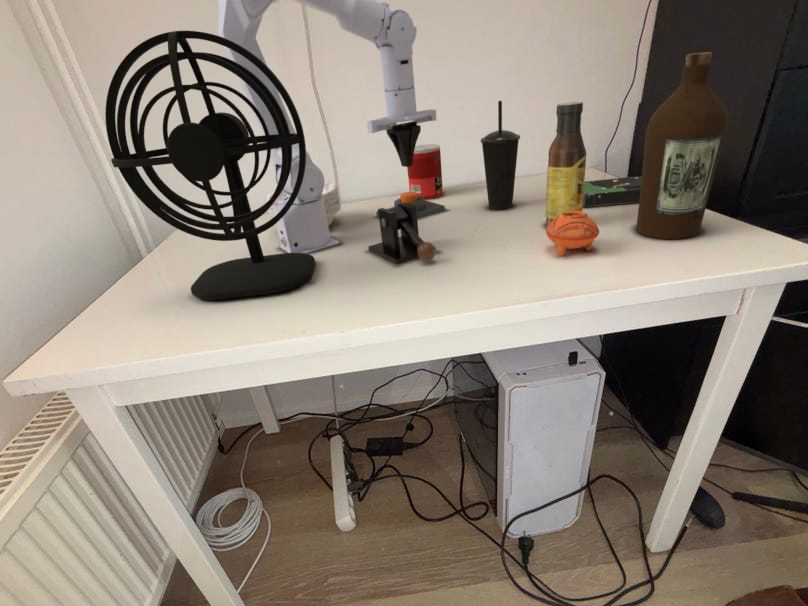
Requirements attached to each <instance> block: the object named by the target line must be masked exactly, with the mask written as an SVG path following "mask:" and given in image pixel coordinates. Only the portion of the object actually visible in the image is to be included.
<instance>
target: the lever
mask: <svg viewBox="0 0 808 606" xmlns="http://www.w3.org/2000/svg"><path fill="white" fill-rule="evenodd" d="M389 210H390V211H393V212H396V218H397V227H398V231H400V230H401V229H402V230H403V231H404V233H405V234H406V235H407V236H408V237H409V238H410V240H411V241H412V242H413V243H414V244H415V246H416V247H417V248H418V250H417V254H418V256H419V258H418V259H420V260H422V261H423V262H424V261H425V262H428V261H432V260H433V259H434V257H435V256H436V253H437V248H436V249H435V247H436V246H435V245H434V244H433V243H431V242H429V241H424V240H423V239H422V237H420V235H419V236H418V234H417V233H416V232H415V231H414V230H413V229H412V227H411V226H410V225H409V224H408V223H407V222H408V215H407V214H406V213H405V211H404V210H403V209H402V208H401V207H396V208H393V209H389Z"/></svg>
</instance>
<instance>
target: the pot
mask: <svg viewBox="0 0 808 606" xmlns="http://www.w3.org/2000/svg"><path fill="white" fill-rule="evenodd" d="M545 234H546V236H547V238H548V239H549V240H550V241H551V242H552V243H553V244H554V245H556V251H557V255H558V257H563V256H564V254H565V252H566V250H567V249H580V248H582V247H585V251H586V252H588V251H589V250H590V249H592V246H593V243H594V242H595V240H596V238H598V236H599V234H600V229H599V227H598V225H597V223H596V222H595V221H594V220H593V219H592V218H591V217H590V216H588V213H586V212H585V211H582V212H581V211H569V212H565V213H564V212H563V213H562V215H561V216H559V217H557V218H555V219H554V220H553V221H552V222H551V223H550V224H549V225H548V226H547V225H546V228H545Z"/></svg>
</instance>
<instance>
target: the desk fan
mask: <svg viewBox="0 0 808 606" xmlns="http://www.w3.org/2000/svg"><path fill="white" fill-rule="evenodd" d="M187 39H192V40H193V39H194V40H202V41H208V42H210V43H214V44H218V45H220V46H225V47H227V48H229V49H231V50H233V51H235V52H237V53H239V54H240V55H242V56H243V57H245V58H246V59H248V60H249V61H250V62H252V63H253V64H254V65H255V66H256V67H258V68H259V69H260V70H261V71H262V72H263V73H264V74H265V75H266V76H267V77H268V79H269V80H270V81H271V82H272V83H273V85H274V86H275V87H276V89H277V90H278V93H279V95H280V97H281V99H283V100H282V101H283V102H284V103H285V105H286V108H287V109H288V111H289V114H290V117H291V119H292V122H293V124H294V125H293V126H294V130H295V133H291V134H290V131H289V127H288V124H287V121H286V118H285V116H284V114H283V111H282V109H281V107H280V106H279V104H278V102H277V100H276V99H275V97H274V96H273V94H272V93H271V92H270V90H269V89H268V88H267V87H266V86H265V85H264V83H263V82H262V81H261V80H260V79H259V78H257V77H256V76H255V75H254V74H253V73H252V72H250V71H249V70H248V69H246V68H245V67H243V66H242V65H240V64H238V63H236V62H234V61H232V60H230V59H229V58H228V57H225V56H222V55H219V54H215V53H210V52H202V51H193V50H192V46H191V45H190V43H189V41H188V40H187ZM164 43H167V53H165V54H162V55H159V56H156V57H155V58H153V59H151V60H148V61H146V63H144V64H143V65H142V66H140V67H139V68H138V69H137V70H136V71H135V72H134V73H133V74H132V75H131V77H130V78H129V79H128V81H127V83H126V84H125V87H124V89H123V90H122V93H121V95H120V98H119V102H118V97H119V93H120V89H121V86H122V84H123V81H124V80H125V77H126V76H127V74H128V72H129V71H130V69H131V68H132V67H133V65H134V64H135V63H136V62H137V61H138V60H139V59H140V58H141V57H142V56H143V55H144V54H145V53H147V52H148V51H150V50H152V49H154V48H155V47H157V46H160V45H161V44H164ZM178 45H179V46H180V48H181V49H182V51H178ZM184 60H187V61H188V62H189V66H190V68H191V70H192V72H193V75H194V77H195V79H196V82H195V83H192V84H191V83H190V84H183V82H182V76H181V71H180V70H181V69H180V64H179V62H180V61H184ZM197 60H200V61H206V62H209V63H211V64H215V65H217V66H219V67H222V68H223V69H225V70H227V71H229V72H231V73H232V74H234V75H235V76H236V77H237V76H238V77H240V78H241V79H242V80H243V81H244V82H246V83H247V84H248V85H249V86H250V87H251V88H252V89H253V90H254V91H255V92H256V94H257V95H258V96H259V97H260V99H261V100H262V101H263V103H264V104H265V106H266V107H267V109H268V111H269V112H270V114H271V116H272V118H273V121H274V123H275V125H276V128H277V131H278V134H275V135H269V132H268V129H267V126H266V124H265V121H264V119H263V117H262V116H261V114H260V112H259V111H258V110H257V108H256V107H255V106H254V104H253V103H252V102H251V101H250V100H249V99H248V98H247V97H246V95H245V94H243V93H241V92H240V91H239V90H237V89H235V88H234V87H231V86H229V85H226V84H223V83H220V82H215V81H206V80H205V78H204V75H203V73H202V71H201V68H200V65H199V63H198V61H197ZM169 66H170V67H169ZM267 66H268V65H267ZM267 66H266V65H265V64H264V63H263V62H262V61H261V60H260V59H259V58H257V57H256V56H255V55H254V54H252V53H251V52H249V51H248V50H246V49H245V48H243V47H242V46H240V45H238V44H236V43H234V42H232V41H230V40H228V39H225V38H223V37H220V36H219V35H218V34H213V33H208V32H204V31H199V30H198V31H197V30H175V31H174V30H173V31H168V32H164V33H160V34H157V35H154V36H151V37H150V38H147V39H146V40H144V41H142V42H141V43H139V44H138V45H137V46H135V47H134V48H133V49H132V50H130V52H129V53H127V54H126V55H125V57H124V58H123V59H122V61H121V62H120V63H119V65H118V66H117V68H116V70H115V72H114V74H113V75H112V78H111V81H110V84H109V86H108V90H107V95H106V100H105V111H104V112H105V114H104V115H105V116H104V117H105V128H106V130H105V131H106V135H107V136H106V137H107V140H108V143H109V144H108V145H109V148H110V150H111V154H112V157H113V158H111V159H110V162H111V163H112V166H113V168H117V169H118V170H119V172H120V174H121V176H122V178H123V179H124V181H125V182H126V184H127V185H128V187H129V188H130V190H131V191H132V192H133V194H134V195H135V196H136V197H137V198H138V200H139V201H140V202H141V203H142V204H143V205H144V206H145V207H146V208H147V209H148V210H150V211H151V213H152V214H154V215H155V216H157V217H158V218H160V219H161V220H162V221H163V222H165V223H166V224H168V225H169V226H171V227H173V228H175V229H177V230H179V231H181V232H183V233H185V234H188V235H190V236H194V237H197V238H201V239H204V240H210V241H218V242H232V241H241V240H245V243H246V246H247V249H248V253H249V257H242V258H236V259H231V260H227V261H224V262H220V263H217V264H215V265H212V266H210V267H208V268H206V269H205V270H204V271H203V272H201V274H200V275H199V276H198V277H197V279H196V280H195V281H194V282H193V283H192V285H191V286H190V292H191V294H192V296H193V297H195V298H197V299H201V300H210V301H211V300H225V299H234V298H242V297H251V296H261V295H268V294H269V295H270V294H275V293H280V292H284V291H288V290H291V289H294V288H297V287H299V286H301V285H304V284H305V283H306V282H308V281H310V279H311V278H312V276H313V273H314V269H315V267H316V258H315V257H314V256H313V255H311V254H310V253H306V254H305V253H288V252H284V253H275V254H267V255H264V252H263V250H262V249H263V248H262V245H261V242H260V237H259V235H260V234H262V233H265V232H266V231H267V230H269V229H271V228H272V227H274V226H276V223H277V222H278V221H279V220H280V219H281V218H282V217H283V216H284V215H285V214H286V213H287V211H288V210H289V209H290V207H291V206H292V204H293V203H294V201H295V199H296V197H297V195H298V193H299V191H300V188H301V185H302V182H303V178H304V173H305V166H306V151H307V146H306V138H305V133H304V128H303V124H302V121H301V117H300V115H299V113H298V110H297V108H296V106H295V104H294V101H293V100H292V98H291V96H290V94H289V92H288V91H287V89H286V88H285V86H284V85H283V83H282V82H281V80H280V79H279V78H278V77H277V75H276V74H275V73H274V72H273V70H272V69H270V68H269V66H268V67H267ZM167 67H169V68H170V73H171V78H172V83H173V86H170V87H167V88H165V89H163V90H161V91H159V92H158V93H156V94H155V95H154V96H153V97H152V98H151V99H150V100H149V101H148V103H147V104H146V106H145V108H144V109H143V111H142V114H141V116H140V120H139V111H140V105H141V101H142V98H143V95H144V94H145V91H146V89H147V87H148V86H149V84H150V82H151V81H152V80H153V79H154V77H155V76H157V75H158V74H159V73H160V72H161V71H163V70H164V69H165V68H167ZM238 77H237V78H238ZM209 87H216V88H219V89H223V90H226V91H228V92H230V93H232V94H234V95H236V96H237V97H238V98H240V99H241V100H242V101H243V102H245V104H247V105H248V107H250V109H251V110H252V111H254V112H255V114H256V115H257V117H258V118H259V120H260V122H261V124H262V127H263V129H264V132H265V135H264V134H263V135H255V132H254V130H253V128H252V127H251V124H250V123H249V121H248V120H247V117H246V116H245V115H244V113H242V111H241V110H240V109H239V108H238V107H237V106H236V105H235V104H234V103H233V102H232V101H231V100H230V99H229V98H227V97H226V96H224V95H222V94H221V93H219V92H218V91H215V90H213V89H211V88H209ZM135 88H136V89H135ZM190 90H194V91H199V92H201V95H202V98H203V101H204V104H205V107H206V110H207V112H208V114H207V115H206V116H204V117H203V118H201V119H200V121H199V122H192V120H191V116H190V112H189V109H188V104H187V100H186V96H185V93H187V92H189V91H190ZM134 91H135V92H134ZM133 92H134V94H133ZM172 92H175V94H174V95H173V96H172V98H171V99H170V100H169V102H168V104H167V106H166V109H165V112H164V114H163V119H162V136H163V142H164V146H165V147H163V148H157V149H152V150H151V149H150V150H147V148H146V142H145V130H146V129H145V128H146V122H147V119H148V116H149V114H150V112H151V110H152V109H153V107H154V106H155V104H156V103H157V102H158V101H160V99H162V98H163V97H164V96H166V95H168V94H170V93H172ZM132 94H133V96H132ZM131 96H132V101H131V105H130V111H129V129H130V130H129V131H130V137H131V141H132V145H133V150H134V152H135V153H131V152H130V148H129V145H128V139H127V131H126V116H127V110H128V105H129V101H130V98H131ZM211 96H213V97H215V98H217V99H218V100H220V101H222V102H223V103H224V104H225V105H227V106H228V107H229V108H230V109H232V110H233V112H234V113H235V114H236V115H237V116H236V115H234V114H232V113H230V112H229V113H228V112H221V111H220V112H216V111H215V106H214V103H213V100H212V97H211ZM117 102H118V106H117ZM176 102H177V105H178V108H179V113H180V116H181V120H182V123H181V124H178V125H177V126H175V127H174V128H173V129H172V130H171V131H170V133H169V131H168V130H169V129H168V126H169V118H170V115H171V112H172V109H173V107H174V105H175V104H176ZM116 110H117V111H116ZM116 112H117V114H116ZM254 112H253V113H254ZM255 114H254V115H255ZM138 120H139V123H138ZM138 124H139V125H138ZM297 143H298V144H299V170H298V176H297V180H296V184H295V187H294V189H293V192H292V194H291V196H290V198H289V200H288V202H287V203H286V205H285V206H284V207H283V208H282V210H281V211H280V212H279V213H278V214H277V215H276V216H274V217H273V218H272V219H270V220H268V221H266V222H265V223H262V225H259V226H256V223H255V221H257V220H258V219H259V218H261V217H262V216H264V214H265V213H266V212H268V209H269V208H270V207H271V206H272V204H273V203H274V202H275V200H276V199H277V198H278V196H279V195H280V194H281V192H282V190H283V189H284V187H285V185H286V182H287V180H288V177H289V174H290V170H291V164H292V145H294V144H297ZM276 148H281V150H282V168H281V174H280V179H279V182H278V185H277V184H276V188H275V190H274V191H273V192H274V194H273V196H272V197H271V199H270V200H269V201H268V202H267V203H266V202H265V203H264V204H263V205H261V206H260V207H258V208H256V209H254V210H252V208H251V205H250V201H249V198H248V195H247V194H248V193H249V192H250V191H251V189H253V188H254V187H256V185H257V184H258V183H260V181H261V180H262V179H263V177H264V175H265V174H266V172H267V170H268V168H269V164H270V161H271V149H276ZM264 151H266V158H265V161H264V166H263V167H262V168H263V169H262V170H261V172H260V174H259V175H258V172H259V168H260V152H264ZM252 153H254V154H253V155H254V165H253V172H252V176H251V178H250V182H249V183H248V185H247V186H246V187H245V183H244V180H243V175H242V172H241V169H240V165H239V161H240V160H241V159H243V158H244V156H245V155H247V154H252ZM161 165H173V167H174V169H176V171H178V173H180V174H181V176H183V177H184V178H185V180H187V181H188V182H189V183H191V184H192V185H193V186H195V187H196V188H198V189H200V190H202V191H204V192H205V194H206V198H207V199H208V202H209V203H210V204H202V203H198V202H195V201H191V200H189V199H186V198H185V197H183V196H181V195H179V194H178V193H176V192H175V190H173V189H171V188H170V187H169V186H168V185H167V184H166V183H165V182H164V181H163V180H162V179H161V177H160V176H159V174H158V173H157V172H156V170H155V168H154V167H153V166H161ZM140 167H141V169H142V170H143V171H144V174H145V175H146V176H147V178H148V179H149V181H150V182H151V184H153V186H154V187H155V188H156V189H157V191H158V192H160V193H161V195H162V196H163V197H164V198H166V199H167V201H169V202H171V203H172V204H173V205H174V206H176V207H177V208H178V209H179V210H182V211H184V212H185V213H188V214H190V215H192V216H193V217H197V218H200V219H202V220H205V221H200V220H198V219H194V218H192V217H189V216H187V215H185V214H182V213H181V212H180V211H177V210H176V209H174V208H172V207H171V206H169V205H168V204H167V203H166V202H165V201H163V200H162V199H161V198H160V197H158V195H157V194H156V193H155V192H154V191H153V190H152V189H151V188H150V187H149V185H148V184H147V183H146V181H145V180H144V178H143V177H142V175H141V174H140V172H139V170H138V168H140ZM223 169H224V172H225V176H226V181H227V184H228V190H229V191H223V190H222V191H221V190H216V189H213V187H212V183H211V182H210V181H212V180H214V179H215V178H217V177H218V176H219V175H220V174H221V172H222V170H223ZM257 176H258V177H257ZM199 182H200V183H199ZM216 195H217V196H225V197H226V196H227V197H228V196H230V199H231V200H230V201H227V202H225V203H220V204H219V203H218V202H219V201H218V200H217V197H216ZM229 207H232V216H224V213H223V212H222V210H221V209H226V208H229ZM197 209H201V210H209V211H211V210H212V211H213V214H209V213H206V212H203V211H200V210H197ZM206 221H210V222H206ZM211 222H215V223H211ZM202 229H205V230H202ZM207 230H211V231H207ZM212 231H223V233H220V232H218V233H217V232H212Z"/></svg>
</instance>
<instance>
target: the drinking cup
mask: <svg viewBox="0 0 808 606" xmlns="http://www.w3.org/2000/svg"><path fill="white" fill-rule="evenodd" d="M497 111H498V112H497V114H498V115H497V118H498V119H497V121H498V123H497V124H498V125H497V126H498V127H497V128H498V129H497V130H494V131H492V132H490V133H487V134H486V135H485V136H484V137H481V138H480V143H481V146H482V147H481V148H482V155H483V165H484V174H485V184H486V193H487V202H488V209H489V210H491V211H506V210H509V209H512V207H513V201H514V192H515V182H516V171H517V160H518V150H519V141H520V139H521V135H520V134H519V133H516V132H513V131H511V130H507V129H503V100H498V101H497Z"/></svg>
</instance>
